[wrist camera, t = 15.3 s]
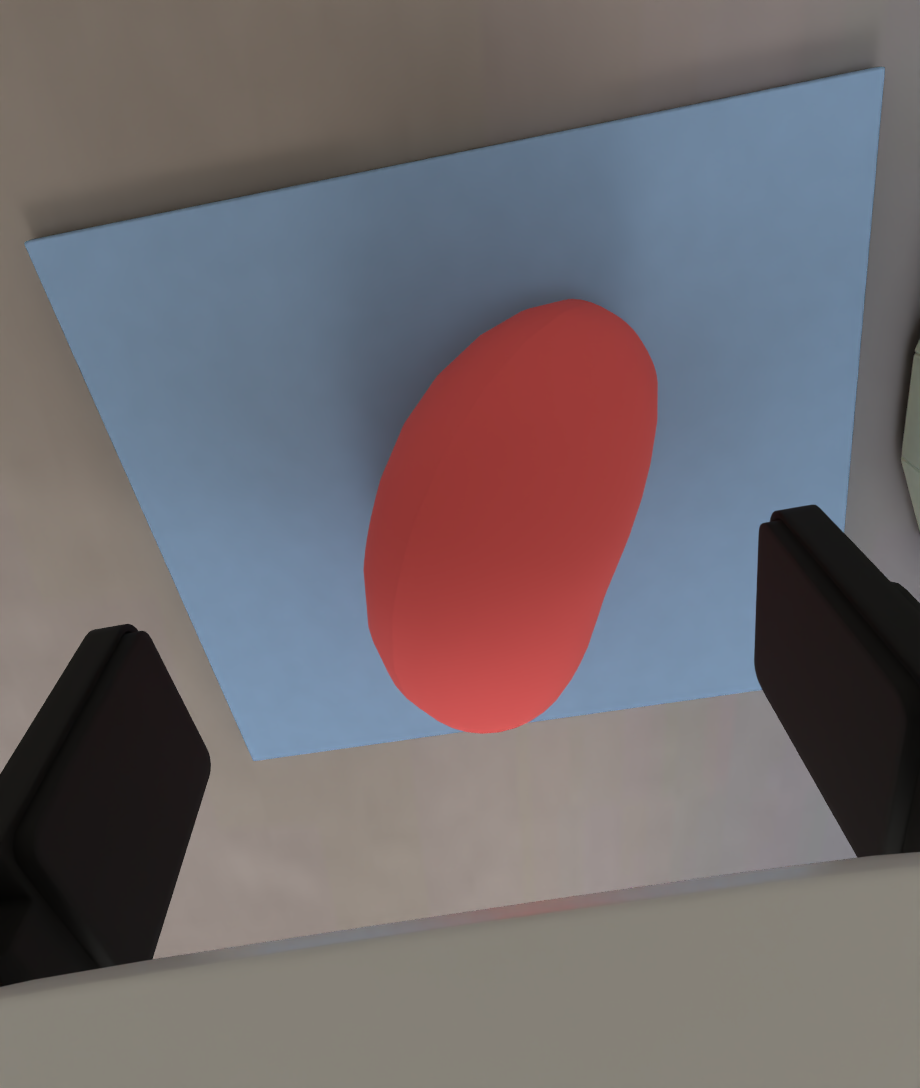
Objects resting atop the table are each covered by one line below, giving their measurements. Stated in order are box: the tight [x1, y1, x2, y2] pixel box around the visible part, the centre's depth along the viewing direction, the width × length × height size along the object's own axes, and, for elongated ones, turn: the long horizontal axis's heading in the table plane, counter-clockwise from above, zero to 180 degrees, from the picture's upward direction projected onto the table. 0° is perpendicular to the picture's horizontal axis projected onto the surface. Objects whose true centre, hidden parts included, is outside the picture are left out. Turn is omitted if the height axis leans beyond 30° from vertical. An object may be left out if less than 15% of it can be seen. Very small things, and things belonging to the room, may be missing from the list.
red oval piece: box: [364, 299, 658, 733], centre depth 15 cm, size 5×9×6 cm, turn 157°
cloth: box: [24, 67, 885, 761], centre depth 17 cm, size 14×16×1 cm
